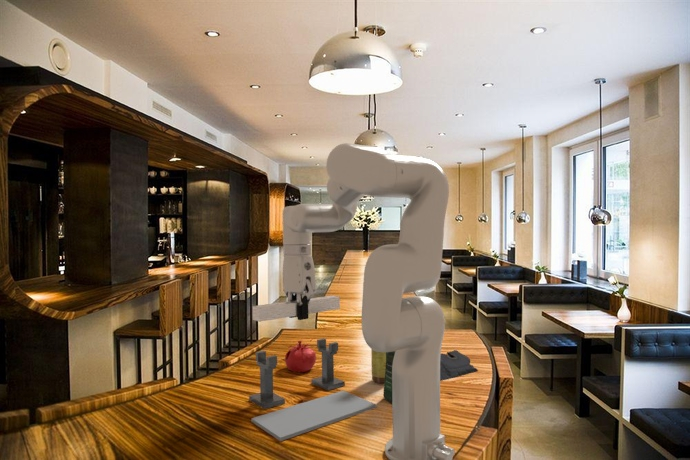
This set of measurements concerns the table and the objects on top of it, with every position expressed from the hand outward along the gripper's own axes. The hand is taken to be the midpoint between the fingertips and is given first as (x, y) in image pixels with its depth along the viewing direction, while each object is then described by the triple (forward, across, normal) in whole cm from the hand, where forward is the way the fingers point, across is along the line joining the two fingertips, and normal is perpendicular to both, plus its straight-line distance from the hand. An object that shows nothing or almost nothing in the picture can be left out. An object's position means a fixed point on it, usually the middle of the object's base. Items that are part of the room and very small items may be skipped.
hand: (298, 317), depth 129 cm
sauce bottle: (+21, -7, -24) cm, 33 cm away
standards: (+21, +1, 0) cm, 21 cm away
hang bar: (-1, 0, 0) cm, 1 cm away
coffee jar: (+21, -21, -18) cm, 35 cm away
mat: (+21, -14, +5) cm, 26 cm away
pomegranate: (+21, +18, -12) cm, 30 cm away
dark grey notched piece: (+22, -12, -44) cm, 51 cm away
